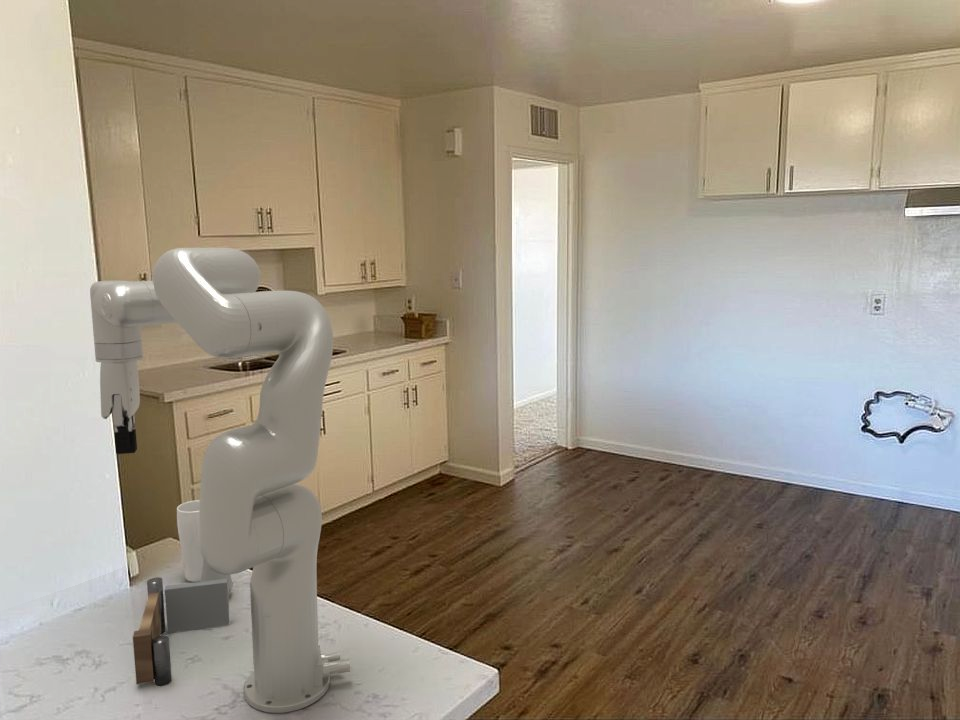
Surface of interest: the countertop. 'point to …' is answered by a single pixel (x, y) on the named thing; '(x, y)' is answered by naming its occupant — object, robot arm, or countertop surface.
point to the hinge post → (157, 587)
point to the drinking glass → (190, 539)
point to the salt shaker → (215, 576)
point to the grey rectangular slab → (197, 605)
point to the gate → (147, 640)
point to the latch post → (161, 660)
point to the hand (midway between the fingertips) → (126, 452)
